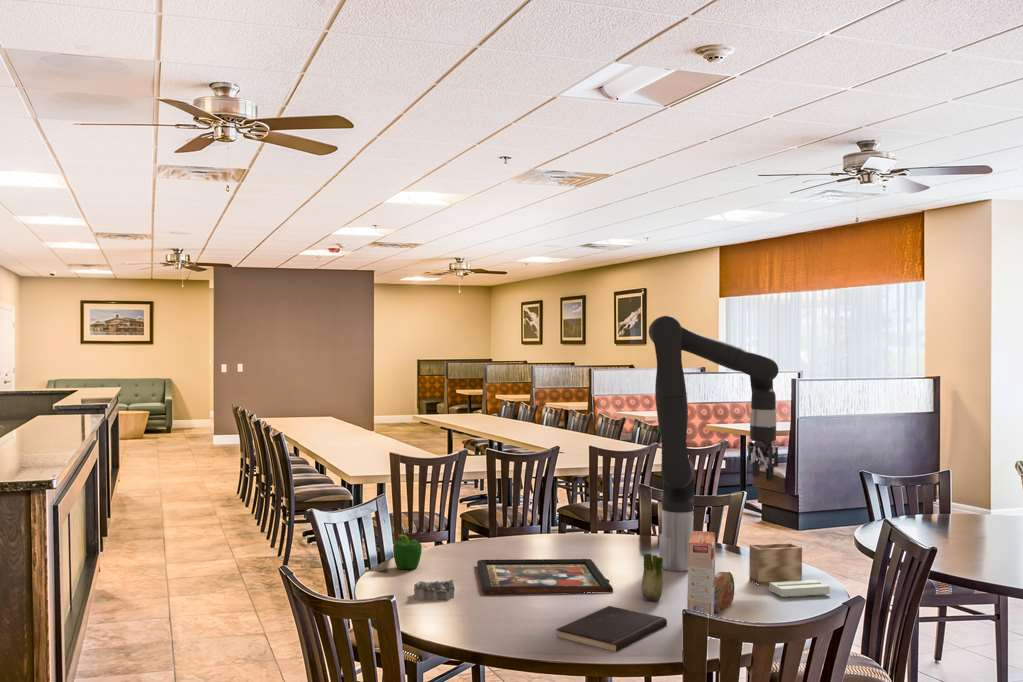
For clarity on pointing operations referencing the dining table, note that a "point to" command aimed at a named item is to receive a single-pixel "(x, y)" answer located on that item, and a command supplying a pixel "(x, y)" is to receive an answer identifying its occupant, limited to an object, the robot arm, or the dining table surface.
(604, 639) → the hardcover book
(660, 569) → the fennel bulb
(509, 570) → the framed icon painting
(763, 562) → the oak box
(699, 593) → the cracker box
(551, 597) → the dining table surface
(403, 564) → the bell pepper
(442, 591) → the egg carton
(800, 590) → the lid
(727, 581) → the tin
